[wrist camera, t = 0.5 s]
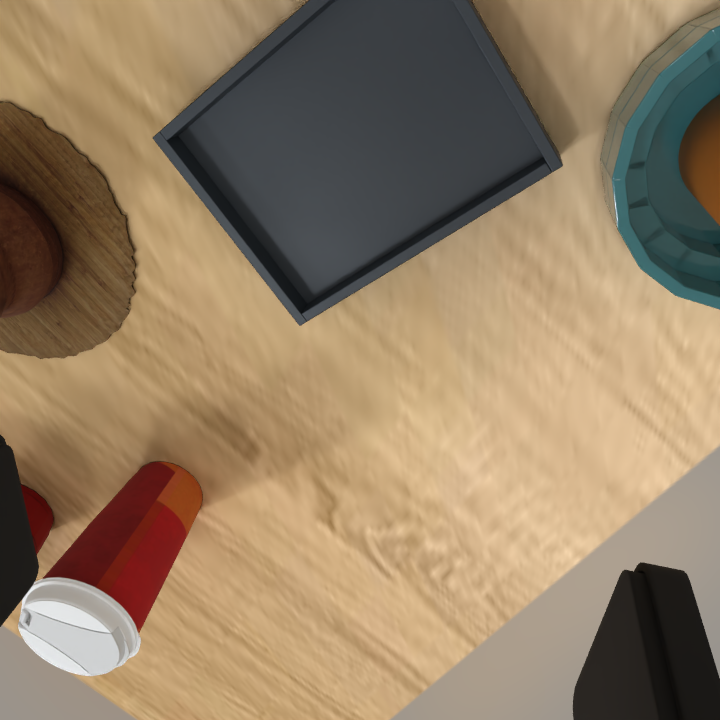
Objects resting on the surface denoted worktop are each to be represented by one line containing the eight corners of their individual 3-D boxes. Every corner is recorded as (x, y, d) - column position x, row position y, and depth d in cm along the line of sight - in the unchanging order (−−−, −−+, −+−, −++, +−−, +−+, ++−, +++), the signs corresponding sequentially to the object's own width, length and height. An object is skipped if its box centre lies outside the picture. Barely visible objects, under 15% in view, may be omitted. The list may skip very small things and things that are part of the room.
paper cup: (113, 498, 54) (0, 645, 42) (137, 433, 50) (20, 575, 38) (199, 541, 54) (112, 699, 42) (231, 481, 50) (144, 635, 38)
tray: (420, -88, 31) (414, -93, 29) (560, 155, 35) (563, 165, 33) (170, 129, 38) (151, 137, 36) (309, 310, 42) (299, 326, 40)
